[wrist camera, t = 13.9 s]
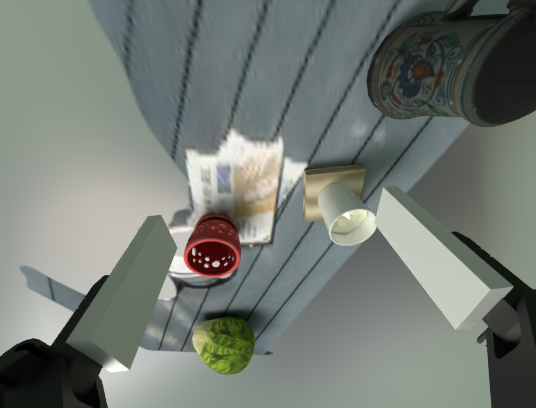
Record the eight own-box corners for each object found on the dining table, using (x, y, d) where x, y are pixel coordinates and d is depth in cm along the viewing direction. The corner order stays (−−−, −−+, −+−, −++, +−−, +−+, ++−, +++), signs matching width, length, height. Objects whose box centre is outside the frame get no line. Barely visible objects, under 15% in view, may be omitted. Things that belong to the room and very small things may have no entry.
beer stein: (383, 131, 47) (489, 184, 26) (341, 50, 38) (451, 34, 17) (460, 75, 42) (666, 86, 21) (432, -34, 33) (743, -200, 12)
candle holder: (360, 185, 51) (387, 214, 41) (341, 216, 56) (361, 249, 46) (324, 175, 49) (344, 204, 39) (308, 208, 54) (321, 241, 44)
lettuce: (207, 298, 78) (185, 356, 64) (265, 318, 81) (255, 377, 67) (199, 315, 90) (179, 367, 76) (250, 331, 93) (239, 384, 79)
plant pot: (233, 248, 64) (230, 282, 54) (189, 237, 60) (177, 272, 50) (248, 216, 58) (248, 248, 48) (200, 202, 54) (189, 233, 44)
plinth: (303, 169, 51) (306, 175, 48) (360, 164, 51) (366, 169, 49) (303, 215, 59) (305, 222, 56) (352, 210, 59) (356, 216, 56)
